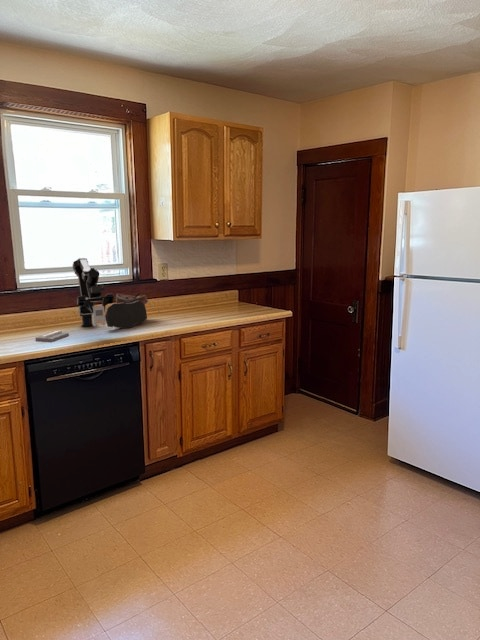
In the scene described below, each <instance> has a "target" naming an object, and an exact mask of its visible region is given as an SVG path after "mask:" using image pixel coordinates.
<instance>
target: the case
mask: <svg viewBox="0 0 480 640" xmlns="http://www.w3.org/2000/svg"><path fill="white" fill-rule="evenodd" d="M135 301H140V302H142V303H143V304H144V306H145V307H146V305H147V304H148V302H149V300H148V297H147V295H146V294H142V293H138V294H136V295H130V294H125V293H119V292H118V293H116V294H115V303H133V302H135Z"/></svg>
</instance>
